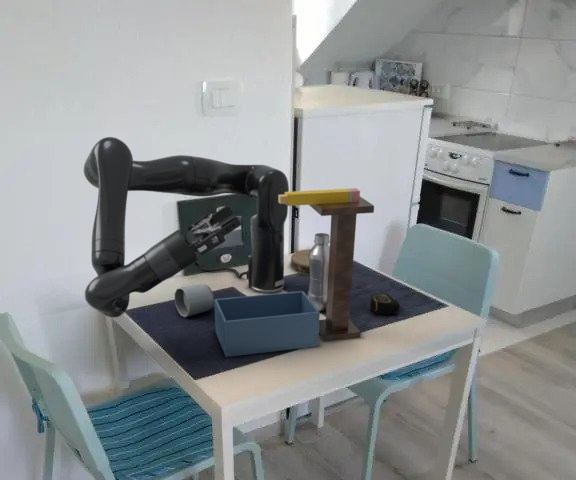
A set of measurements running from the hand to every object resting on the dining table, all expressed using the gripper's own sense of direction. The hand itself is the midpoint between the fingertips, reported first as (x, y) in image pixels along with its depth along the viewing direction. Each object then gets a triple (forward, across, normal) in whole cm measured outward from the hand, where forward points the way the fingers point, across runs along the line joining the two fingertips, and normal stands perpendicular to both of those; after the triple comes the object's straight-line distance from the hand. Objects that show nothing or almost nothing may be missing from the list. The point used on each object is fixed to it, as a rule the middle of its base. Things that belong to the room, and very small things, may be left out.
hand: (234, 214), depth 131 cm
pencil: (+17, 0, +8) cm, 19 cm away
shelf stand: (+6, 0, +38) cm, 39 cm away
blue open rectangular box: (-9, 0, +30) cm, 31 cm away
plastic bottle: (+6, +14, +39) cm, 42 cm away
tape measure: (+21, +9, +47) cm, 53 cm away
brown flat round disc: (+14, +45, +44) cm, 64 cm away
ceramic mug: (-22, +20, +23) cm, 38 cm away
